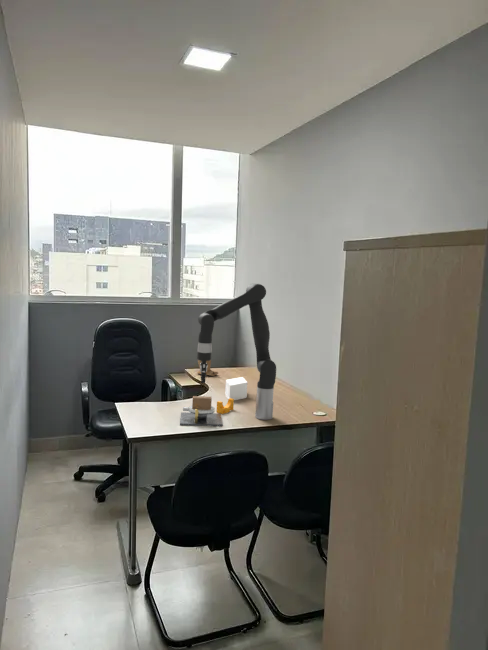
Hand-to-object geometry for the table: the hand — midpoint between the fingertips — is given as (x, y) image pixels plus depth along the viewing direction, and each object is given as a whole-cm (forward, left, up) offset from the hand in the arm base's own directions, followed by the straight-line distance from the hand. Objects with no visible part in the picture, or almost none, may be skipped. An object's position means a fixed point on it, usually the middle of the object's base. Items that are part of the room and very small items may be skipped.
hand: (202, 381), depth 263 cm
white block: (-23, -54, -22) cm, 63 cm away
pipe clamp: (-15, -18, -22) cm, 32 cm away
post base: (0, 0, -21) cm, 21 cm away
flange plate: (+1, 0, -16) cm, 16 cm away
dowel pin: (+3, +8, -21) cm, 23 cm away
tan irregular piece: (-5, -117, -22) cm, 119 cm away
